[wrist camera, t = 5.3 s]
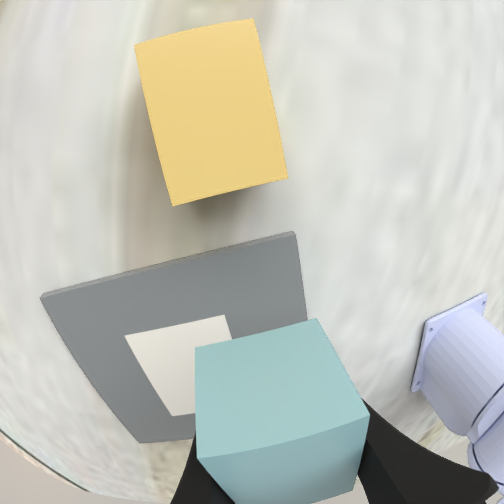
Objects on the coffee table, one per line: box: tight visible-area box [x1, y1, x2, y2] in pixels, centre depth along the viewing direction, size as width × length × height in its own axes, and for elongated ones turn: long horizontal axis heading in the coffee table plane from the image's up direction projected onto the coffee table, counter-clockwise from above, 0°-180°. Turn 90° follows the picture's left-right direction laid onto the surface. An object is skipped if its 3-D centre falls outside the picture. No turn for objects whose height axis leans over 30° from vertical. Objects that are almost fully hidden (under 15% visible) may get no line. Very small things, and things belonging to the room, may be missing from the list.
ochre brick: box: [134, 19, 288, 207], centre depth 12 cm, size 6×4×4 cm
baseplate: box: [40, 231, 308, 443], centre depth 19 cm, size 16×16×1 cm
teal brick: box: [195, 318, 370, 504], centre depth 9 cm, size 6×4×4 cm
